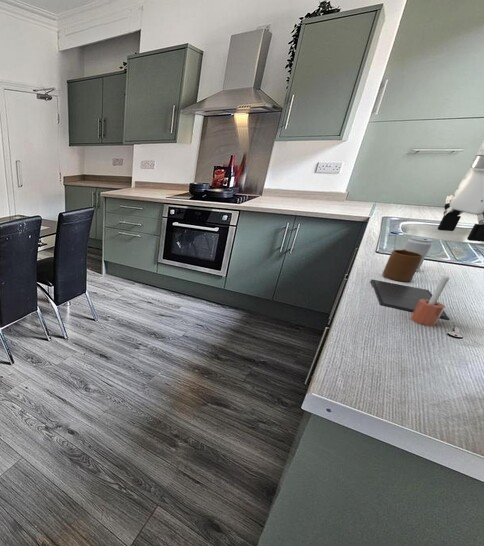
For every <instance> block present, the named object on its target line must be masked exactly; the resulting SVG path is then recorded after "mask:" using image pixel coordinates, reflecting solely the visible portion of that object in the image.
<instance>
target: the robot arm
mask: <svg viewBox="0 0 484 546" xmlns="http://www.w3.org/2000/svg"><path fill="white" fill-rule="evenodd" d="M443 208H444V211H443V212H442V214H443V217H442V218H441V220H440V223H439V225H438V226H437V230H438V231H445V232H454V231H455V230H456V228H457V225H458V224H459V221H460V219H461V218H462V216H461V214H463V213H466V214H471V215H475V216H476V217H477V222H478V223H474V225H473V226H472V228H471V230H470V232H469V234H468V236H467V238H466V240H467V241H470V242H483V243H484V139H483V140H482V142H481V144H480V147H479V149H478V151H477V153H476V154H475V156H474V158H473V160H472V162H471V164H470V167H469V169H468V171H466V174H464V177H463V178H462V179H461V181H460V183H459V184H458V186H457V188H456V189H455V191H454V193H453V194H450V195H448V196H447V197H445V205H444V206H443Z"/></svg>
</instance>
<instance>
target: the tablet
mask: <svg viewBox="0 0 484 546" xmlns="http://www.w3.org/2000/svg"><path fill="white" fill-rule="evenodd" d="M370 284H371V287H372V288H373V290H374V294H375V295H376V299H377V302H378V304H379V306H381V307H386V308H390V309H394V310H395V309H396V310H399V311H403V312H404V311H405V312H409V313H413V311H414V309H415V307H416V305H417V303H418V301H419V300H420V299H427V300H430V299H431V297H432V295H433V293H432V292H431V291H430V290H429V289H425V288H419V287H415V286H409V285H404V284H399V283H393V282H388V281H383V280H377V279H372V278H371V279H370ZM439 319H441V320H446V321H450V319H451V318H450V317H449V316H448V314H447V313H446V312H445V309H444V310H443V312H442V314H441V316H440V317H439Z"/></svg>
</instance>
